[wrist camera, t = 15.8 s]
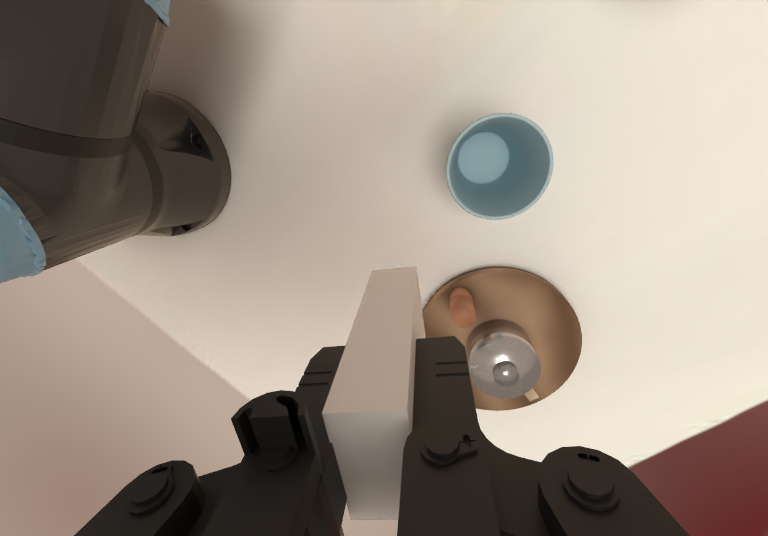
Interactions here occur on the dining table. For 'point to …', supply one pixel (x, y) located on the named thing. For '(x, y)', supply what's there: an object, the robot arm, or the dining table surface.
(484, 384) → the cover
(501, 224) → the dining table surface
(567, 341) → the turntable
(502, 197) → the cup
